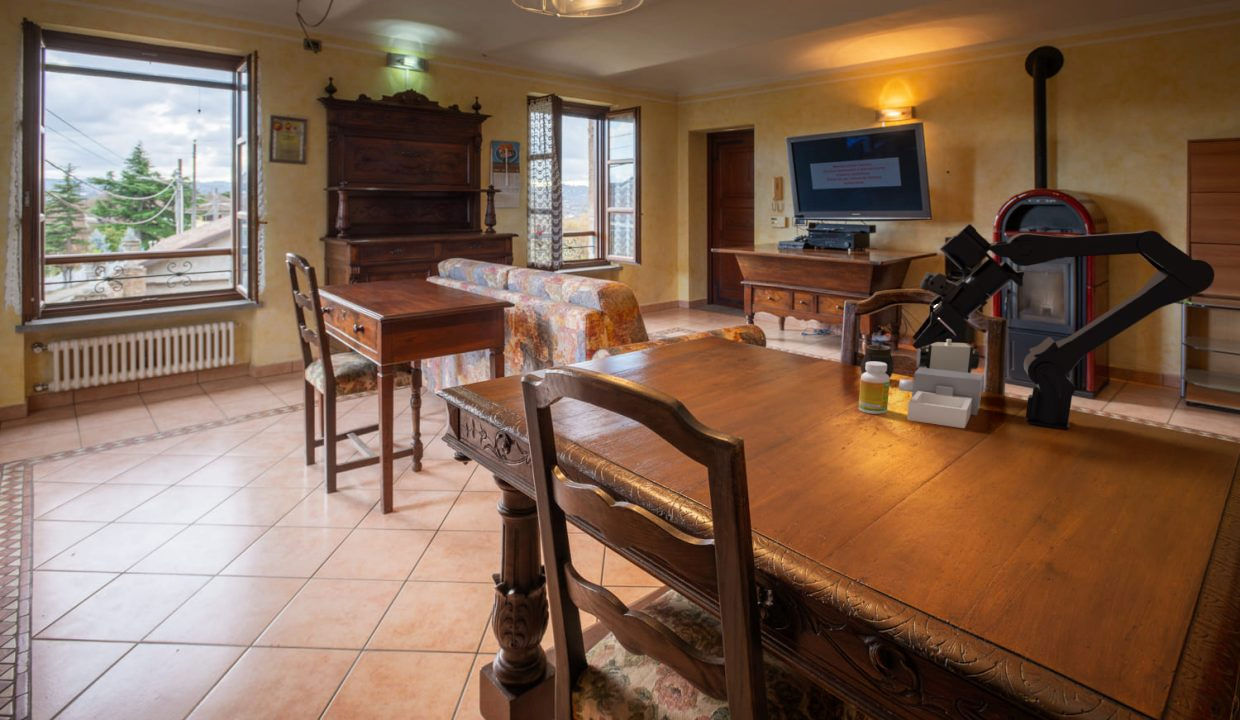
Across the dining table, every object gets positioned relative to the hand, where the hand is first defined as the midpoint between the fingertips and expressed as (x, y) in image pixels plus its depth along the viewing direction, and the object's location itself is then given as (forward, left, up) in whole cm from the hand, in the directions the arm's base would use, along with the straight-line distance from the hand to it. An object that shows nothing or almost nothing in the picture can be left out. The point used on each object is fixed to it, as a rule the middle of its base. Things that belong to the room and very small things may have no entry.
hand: (914, 343), depth 139 cm
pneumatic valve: (-4, -18, -14) cm, 23 cm away
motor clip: (-5, 0, -14) cm, 14 cm away
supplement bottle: (+6, +5, -14) cm, 16 cm away
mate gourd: (+11, -22, -14) cm, 28 cm away
